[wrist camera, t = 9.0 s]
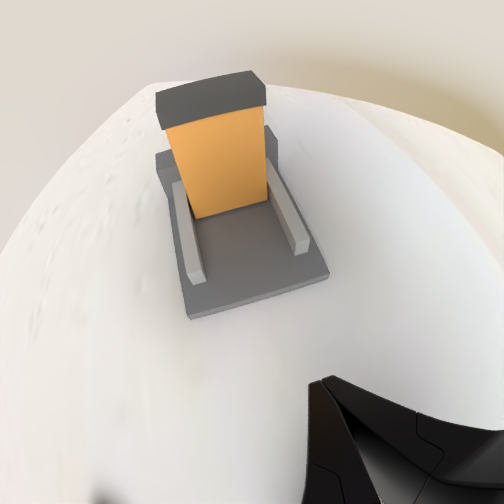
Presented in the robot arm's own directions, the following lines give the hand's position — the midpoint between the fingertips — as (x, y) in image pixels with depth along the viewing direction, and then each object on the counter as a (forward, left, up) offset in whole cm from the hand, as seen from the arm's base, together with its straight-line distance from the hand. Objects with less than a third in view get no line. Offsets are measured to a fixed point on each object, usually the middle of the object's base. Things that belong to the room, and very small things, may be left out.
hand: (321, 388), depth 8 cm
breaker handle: (+13, -13, -11) cm, 22 cm away
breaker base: (+12, -12, -12) cm, 21 cm away
